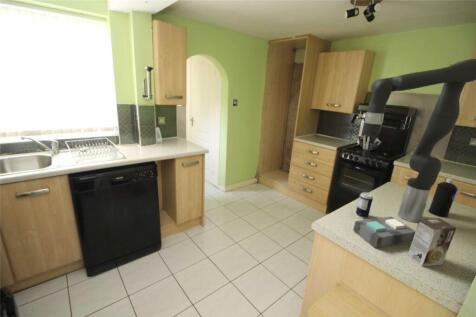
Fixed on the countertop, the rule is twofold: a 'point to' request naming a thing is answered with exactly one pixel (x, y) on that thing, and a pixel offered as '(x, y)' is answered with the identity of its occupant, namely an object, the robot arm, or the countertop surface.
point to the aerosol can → (443, 198)
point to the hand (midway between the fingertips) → (365, 156)
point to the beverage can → (364, 205)
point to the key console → (383, 233)
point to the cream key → (395, 223)
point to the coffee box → (431, 241)
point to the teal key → (376, 226)
